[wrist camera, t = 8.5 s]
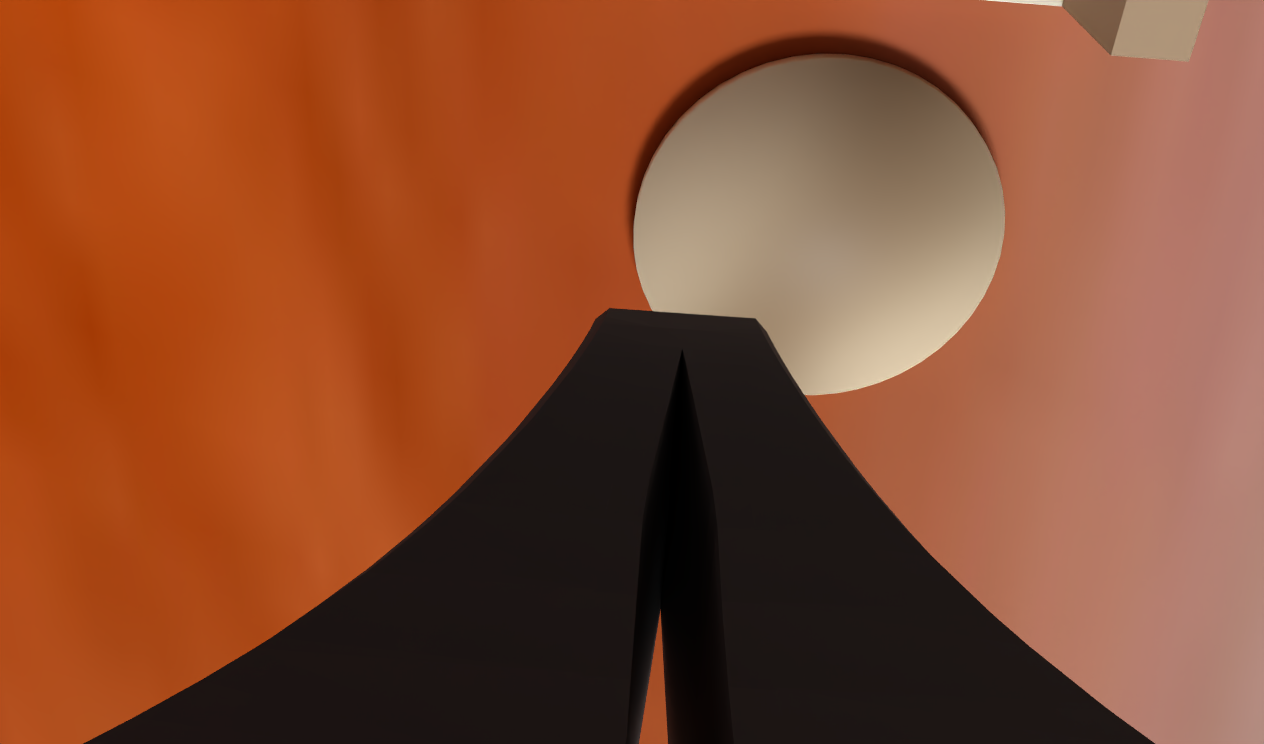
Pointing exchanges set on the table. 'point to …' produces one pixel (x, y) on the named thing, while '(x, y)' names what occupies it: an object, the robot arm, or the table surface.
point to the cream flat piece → (1137, 25)
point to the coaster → (824, 215)
